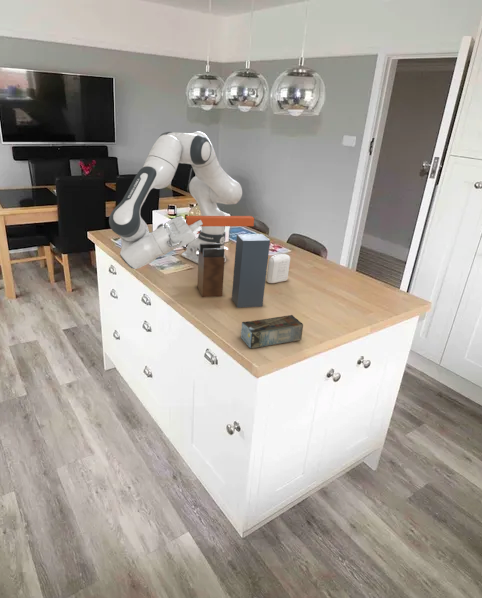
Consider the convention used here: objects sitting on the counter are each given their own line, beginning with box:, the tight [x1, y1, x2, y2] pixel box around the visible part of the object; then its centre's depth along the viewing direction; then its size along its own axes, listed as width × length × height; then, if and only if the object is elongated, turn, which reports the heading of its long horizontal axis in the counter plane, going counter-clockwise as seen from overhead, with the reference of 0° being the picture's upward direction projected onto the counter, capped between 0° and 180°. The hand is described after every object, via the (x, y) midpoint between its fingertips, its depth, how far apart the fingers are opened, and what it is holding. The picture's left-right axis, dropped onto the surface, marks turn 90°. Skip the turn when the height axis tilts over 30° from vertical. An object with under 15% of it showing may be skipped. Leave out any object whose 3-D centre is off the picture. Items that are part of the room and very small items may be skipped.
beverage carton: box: [240, 314, 304, 349], centre depth 135 cm, size 8×19×7 cm, turn 112°
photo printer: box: [265, 253, 291, 284], centre depth 181 cm, size 10×4×12 cm, turn 123°
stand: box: [231, 233, 271, 309], centre depth 155 cm, size 10×8×26 cm
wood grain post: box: [196, 243, 226, 298], centre depth 164 cm, size 8×10×19 cm
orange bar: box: [185, 215, 255, 227], centre depth 147 cm, size 24×3×3 cm, turn 105°
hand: (200, 219), depth 144 cm, fingers closed on orange bar, 3 cm apart
